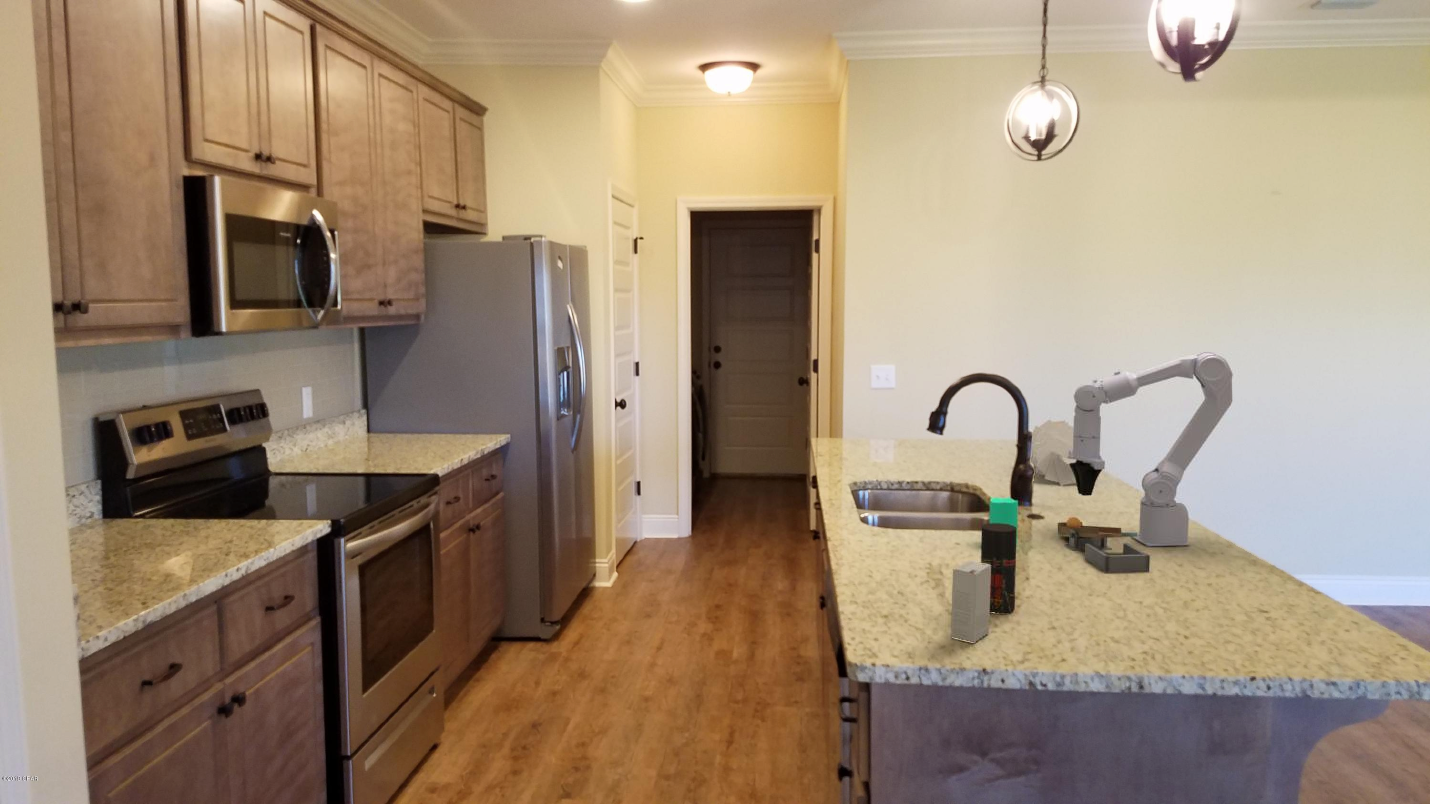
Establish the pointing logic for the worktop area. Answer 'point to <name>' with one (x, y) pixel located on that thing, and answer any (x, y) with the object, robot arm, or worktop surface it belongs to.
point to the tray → (1118, 559)
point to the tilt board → (1094, 531)
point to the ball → (1073, 522)
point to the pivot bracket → (1086, 542)
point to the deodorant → (1000, 564)
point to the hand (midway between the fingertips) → (1084, 494)
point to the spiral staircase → (1053, 451)
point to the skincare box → (970, 601)
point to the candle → (1004, 511)
